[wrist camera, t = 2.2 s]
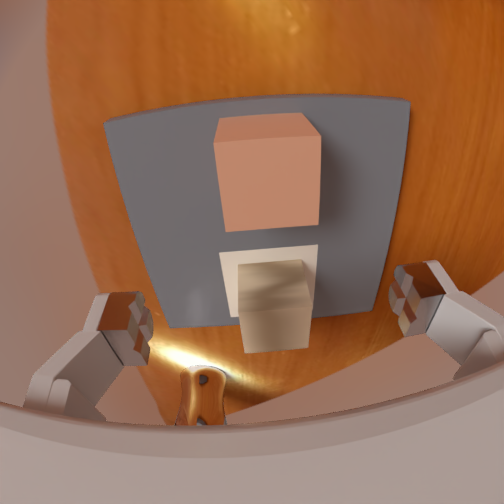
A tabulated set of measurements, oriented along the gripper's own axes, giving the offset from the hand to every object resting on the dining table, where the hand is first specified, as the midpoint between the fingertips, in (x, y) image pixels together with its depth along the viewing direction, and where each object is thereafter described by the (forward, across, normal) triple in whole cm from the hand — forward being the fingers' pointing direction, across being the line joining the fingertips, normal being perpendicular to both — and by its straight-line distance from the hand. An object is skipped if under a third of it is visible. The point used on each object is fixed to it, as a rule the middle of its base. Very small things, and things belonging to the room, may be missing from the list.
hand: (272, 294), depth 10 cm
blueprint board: (+13, -1, +6) cm, 15 cm away
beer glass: (+14, +8, +28) cm, 33 cm away
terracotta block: (+12, -1, 0) cm, 12 cm away
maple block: (+12, -1, +11) cm, 17 cm away
